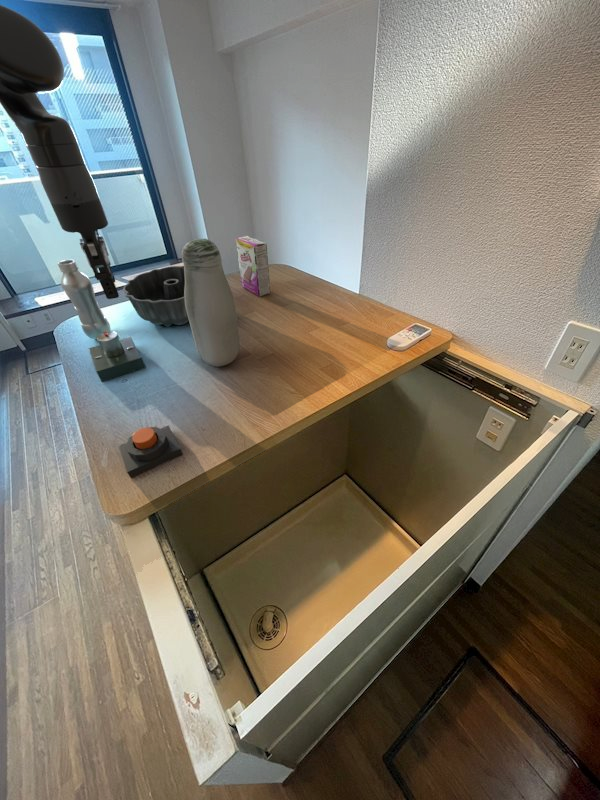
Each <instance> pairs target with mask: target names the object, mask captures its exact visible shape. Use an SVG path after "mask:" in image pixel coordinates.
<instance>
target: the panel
mask: <svg viewBox="0 0 600 800" xmlns="http://www.w3.org/2000/svg"><path fill="white" fill-rule="evenodd" d="M119 339H120V342H121V344H122V346H123V349H124V352H123V353H122V354H121V355H119V356H117V357H112V358H109V357H106V356H105V355H104V353H103V351H102V349H101V347H100V345H99V344H98V345H95V346H91V347H89V348H88V349H87V350H88V351H89V354H90V358H91V360H92V364H93V366H94V369H95V372H96V374H97V376H98V378H99V380H100V382H101V383H103V382H106V381H110V380H113V379H116V378H119V377H122V376H125V375H128V374H131V373H134V372H137V371H141V370H143V369H146V368H147V366H146V364H145V361H144V359H143V356H142V355H141V353H140V351H139V349H138V348H137V345H136V344H135V342H134V341H133V338H132V337H131V336H128V337H124V338H119Z"/></svg>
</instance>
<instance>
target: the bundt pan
mask: <svg viewBox="0 0 600 800" xmlns="http://www.w3.org/2000/svg"><path fill="white" fill-rule="evenodd" d="M184 289H185V274H184V265H172V266H171V265H169V266H165V267H161V268H154V269H152V270H150V271H146V272H142V273H139V274H137V275H135V276H134V277H133V279H129V280H127V284H125V285H124V286H123V288H122V291H123V292H124V294H125V297H126V298H127V299H128V300H129V302H130V303H131V305H132V307H133V309H134V311H135V312H136V314H137V315H138V317H140V318H141V319H142V320H144V321H147V322H149V323H151V324H153V325H164V326H165V327H171V326H172V325H176V326H181V325H185V324H187V323H188V322H189V319H188V315H187V311H186V307H185V299H184Z"/></svg>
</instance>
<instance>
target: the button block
mask: <svg viewBox="0 0 600 800" xmlns="http://www.w3.org/2000/svg"><path fill="white" fill-rule="evenodd" d="M145 428H151V429H153V430H154V432H155V434H156V436H157V442H156V443H155V445H153V446H152V447H150V448H148V449H138V448H137V447H136V445H135V443H134V442H133V439H132V437H133V434H132V435H130V436H129V437H128V438H127V440H126V442H124V443H122V444H119V445H118V449H119V452H120V455H121V458H122V461H123V464H124V467H125V470H126V473H127V474H128V476H129V478H130V479H132V478H134V477H137V476H139V475H141V474H143V473H146V472H148V471H149V470H152V469H154V468H156V467H158V466H161V465H163V464H165V463H168V462H169V461H171V460H172V461H173V460H174V459H176V458H178V457H180V456H183V452H182V449H181V447H180V445H179V442H178V440H177V439H176V437H175V435H174V434H173V431H172V430H171V427H170V426H169V425H166V426H164V427H161V428H159V427H158V426H149V427H145Z"/></svg>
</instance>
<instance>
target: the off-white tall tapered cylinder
mask: <svg viewBox="0 0 600 800" xmlns="http://www.w3.org/2000/svg"><path fill="white" fill-rule="evenodd" d="M181 260H182V264H183V266H184V274H185V289H184V299H185V307H186V311H187V315H188V319H189V321H188V322H189V326H190V329H191V333H192V337H193V341H194V344H195V348H196V350H197V353H198V355H199V357H200V359H201V360H202V361H203V362H204V363H206V364H207V365H210V366H211V367H216V368H217V367H219V368H220V367H224V366H227V365H229V364H231V363H232V362H233V361H234V360H235V359H236V358H237V356H238V354H239V351H240V346H241V341H240V333H239V328H238V317H237V309H236V302H235V298H234V294H233V292H232V289H231V286H230V283H229V281H228V279H227V277H226V274H225V271H224V267H223V263H222V256H221V253H220V250H219V248H218V246H217V245H216V244H215V242H213V241H212V240H210V239H208V238H195V239H192V240H190V241H188V242H186V244H185V245H184V246H183V248H182V250H181Z"/></svg>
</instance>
